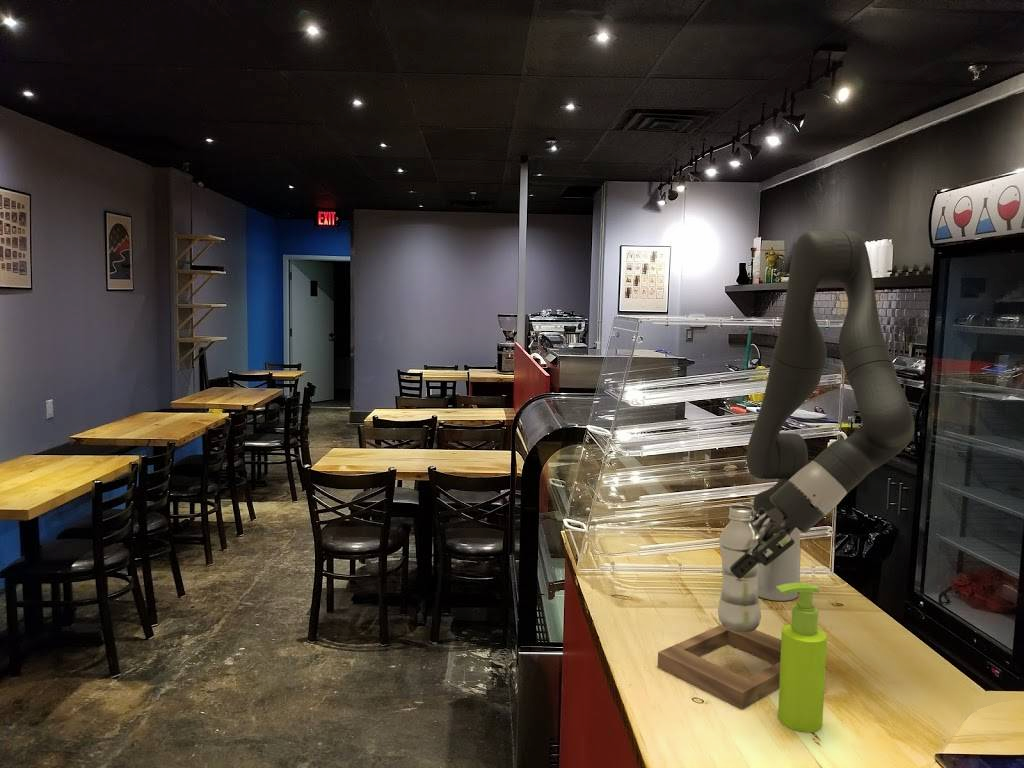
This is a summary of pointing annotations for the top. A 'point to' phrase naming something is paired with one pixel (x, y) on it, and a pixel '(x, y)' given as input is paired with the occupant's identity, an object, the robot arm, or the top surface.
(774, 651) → the brown wooden picture frame
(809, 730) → the soap dispenser
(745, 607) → the plastic bottle
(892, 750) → the top surface
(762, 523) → the robot arm
